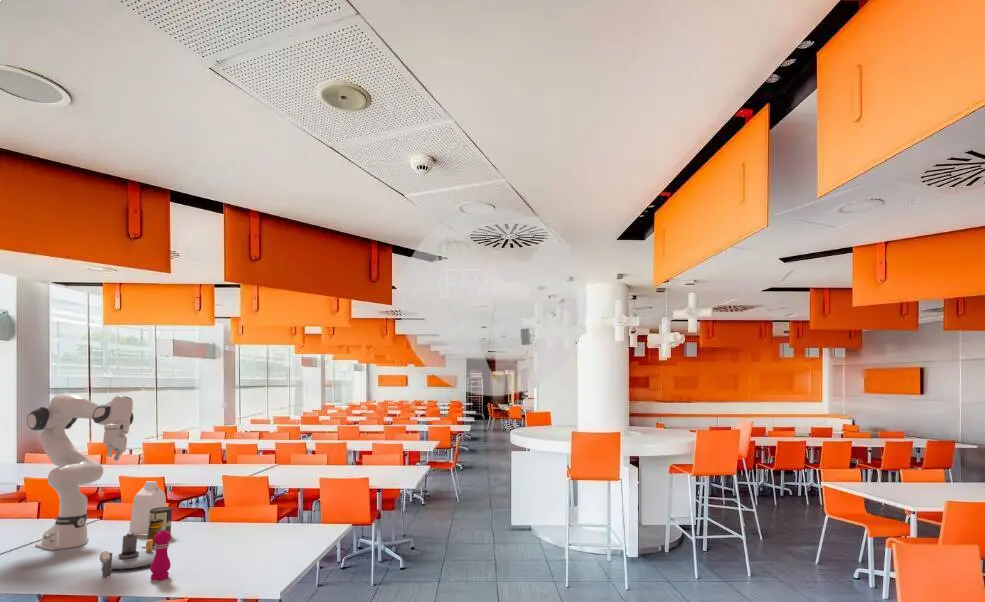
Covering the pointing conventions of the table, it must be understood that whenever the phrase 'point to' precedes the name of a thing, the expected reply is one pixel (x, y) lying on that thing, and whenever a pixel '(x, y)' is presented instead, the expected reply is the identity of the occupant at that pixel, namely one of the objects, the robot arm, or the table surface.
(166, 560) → the pepper mill
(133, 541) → the urn
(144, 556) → the turntable
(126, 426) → the robot arm
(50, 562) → the table surface
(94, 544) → the table surface
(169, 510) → the coffee can
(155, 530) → the condiment
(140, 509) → the milk
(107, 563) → the grey bar with dome
